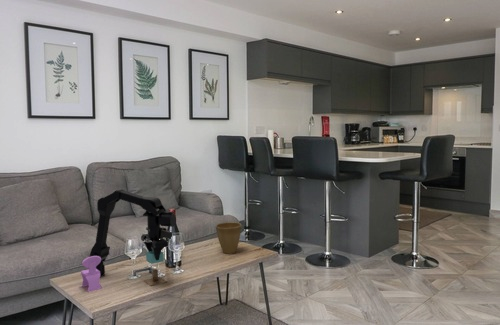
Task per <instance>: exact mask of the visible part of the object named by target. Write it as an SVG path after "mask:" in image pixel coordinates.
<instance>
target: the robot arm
mask: <svg viewBox="0 0 500 325" xmlns="http://www.w3.org/2000/svg"><path fill="white" fill-rule="evenodd" d="M120 201H123V202H128V203H129V204H134V205H137V206H139V207H140V208H141V209H142V210H144V211H145V212H144V213H143V214H142V217H146V218H147V220H146V222H147V226H146V227H145V230H146V231H147V233H143V234H142V235H141V236H140V240H141V241H142V242H143V244H144V246H145V248H146V250H147V252H150V251H153V253H154V256H155V259H156V260H159V257H160V253H161V250H162V249H163V248H164V247H168V241H166V240H165V239H163V237H164V238H168V239H171V237H172V232H170V231H171V230H167V228H166V227H172V228H173V227H175V226H176V224H177V217H176V215H175V212H174V211H172V210H171V211H167V209H166V208H165V206H164V205H163V204H162V201H161V198H159V197H154V196H143V195H140V194H136V193H133V192H130V191H127V190H125V189H117V190H116V189H115V191H113V192H112V193H110V194H108V195H106V196H103V197H100V198H99V199H98V200H97V204H96V205H97V208H96V209H97V212H98V215H99V216H98V217H99V218H98V222H97V224H98V225H97V231H96V237H95V243H94V244H93V246H92V247H91V249H90V253H89V256H88V257H91V256H99V257H100V258H101V262H100V263H99V264H98V265H97V266H96V269H97V270H99V271H100V277H104V276H106V273H105V272H106V270H105V269H106V267H105V264H104V262H106V261H107V260H106V259H107V258H108V256H109V255H110V250H111V247H110V246H108V244H107V239H108V232H109V225H110V221H111V220H110V219H111V215H112V213H113V212H114V210H115V208H116V204H117V203H119V202H120ZM159 239H160V240H159Z"/></svg>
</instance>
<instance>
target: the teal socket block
mask: <svg viewBox="0 0 500 325" xmlns="http://www.w3.org/2000/svg"><path fill="white" fill-rule="evenodd" d="M145 254H146V255H145V257H146V258H145V260H146V262H148V263H149V264H150V265H151V264H158V263H162V262H164V261H165V260H164V257H163V252H161V253H160V257H159V260H156V259H155V256H154V253H153V251H150V252H148V251H145Z"/></svg>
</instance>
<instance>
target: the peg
mask: <svg viewBox="0 0 500 325" xmlns="http://www.w3.org/2000/svg"><path fill="white" fill-rule="evenodd" d="M153 269H154V270H153V272H152V277H151V278H147V279H143V282H144V283H146V284H147V285H149V286H150V287H153V286H158V285H162V284H165V283H168V280H166V279H165V278H163V277H162V276H159V270H158V268H157V269H156V268H153Z"/></svg>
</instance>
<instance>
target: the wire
mask: <svg viewBox="0 0 500 325" xmlns="http://www.w3.org/2000/svg"><path fill="white" fill-rule="evenodd" d="M154 269H155V268H153V267H152V266H149V267H145V268H139V269H135V270H133V271H132V273H133V274H132V276H133V277H136V276H137V273H141V272H147V271H148V273H149V274H153V270H154Z"/></svg>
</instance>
